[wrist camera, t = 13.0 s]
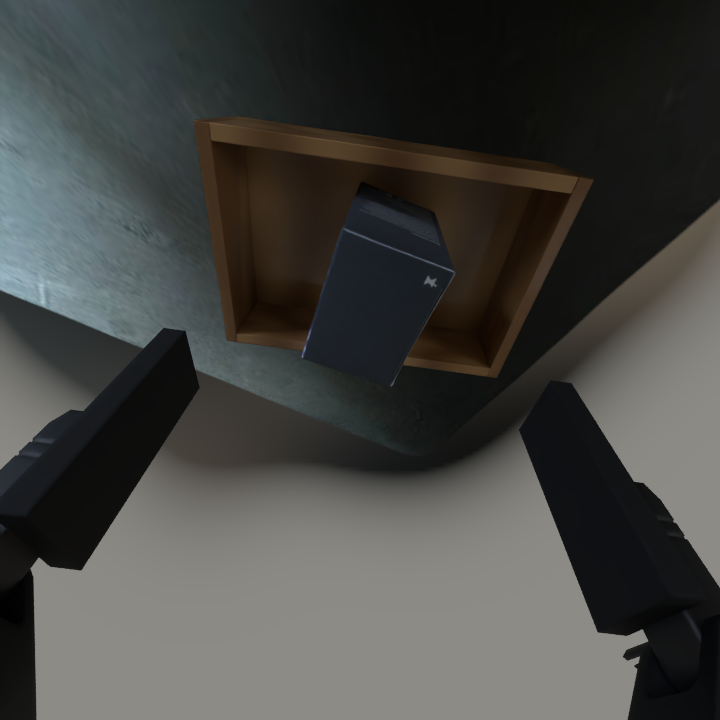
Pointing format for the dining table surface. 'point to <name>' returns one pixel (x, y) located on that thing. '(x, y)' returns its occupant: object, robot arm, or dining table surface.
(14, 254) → the dining table surface
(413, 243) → the box
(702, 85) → the dining table surface
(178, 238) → the dining table surface
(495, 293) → the holder
